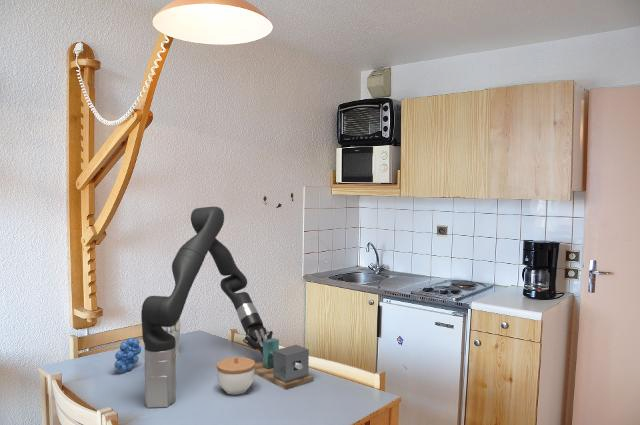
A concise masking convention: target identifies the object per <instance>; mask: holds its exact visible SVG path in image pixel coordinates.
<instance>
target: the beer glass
mask: <svg viewBox="0 0 640 425" xmlns="http://www.w3.org/2000/svg"><path fill="white" fill-rule="evenodd" d="M180 319H181V317H180V318H179V320H178V322H177V323H176V324H175V325H174V326H172V327H162V328H163V329H164V330H165V331H166V332H167V333H169V334H171V335H173V336H174V337H175V340H176V357H178V356H180V351H179V350H180V349H179V342H180V341H179V340H180V335H181V320H180Z"/></svg>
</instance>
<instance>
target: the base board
mask: <svg viewBox="0 0 640 425" xmlns="http://www.w3.org/2000/svg"><path fill="white" fill-rule="evenodd" d="M254 362H255V374H254V375H257V376H258V377H260V378H263V379H264V380H266V381H268V382H270V383H272V384H274V385H276V386H278V387H279V386H280V388H281V387H282V388H281V389H283V388H284V389H283V390H285V389H286V390H290V389H293V388H296V387H299V386H302V385H305V384H304V383H306V384H308V383H307V382H309V383H311V382H310V381H312V382H314V376H313V375H310V374H308V377H304V378H301V379H298V380H295V381H292V382H288V383H284V382H282V381H280V380H278V379H276V378H274V367H271V368H266V367H264V366H263V358H262V359H259V360H256V361H255V360H254ZM301 384H302V385H301ZM298 385H299V386H298ZM295 386H296V387H295ZM292 387H293V388H292ZM289 388H290V389H289Z"/></svg>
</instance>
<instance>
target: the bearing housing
mask: <svg viewBox="0 0 640 425" xmlns="http://www.w3.org/2000/svg"><path fill="white" fill-rule="evenodd" d="M309 352H310V350H309V348H305V347H304V346H301V345H298V344H293V345H290V346H285V347H281V348H279V349H277V350H274V378H276V379H278V380H280V381H282V382H284V383H288V382H292V381H295V380H298V379H301V378H304V377H308V375H309V364H310V362H309V360H310V359H309V358H310V357H309V354H310V353H309ZM294 362H298V363H301V364H302V365H303V368H302V369H301V370H299V369H297V368H295V367H294Z"/></svg>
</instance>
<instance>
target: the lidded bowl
mask: <svg viewBox="0 0 640 425" xmlns="http://www.w3.org/2000/svg"><path fill="white" fill-rule="evenodd" d="M254 361H255V360H254V359H252V358H250V357H242V356H235V357H234V356H233V357H227V358H224V359H221V360H219V361H218V362H217V363H216V373H217V374H216V375H217V376H216V377H217V381H218V384H219V386H220V388H221V389H223V390H224V391H225V393H226V394H228V395H234V396H235V395H241V394H245V393H246V392H247V391H248V389H249V388H250V387H251V386H252V384H253V382H254V379H255V375H256V374H255V362H254Z"/></svg>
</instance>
